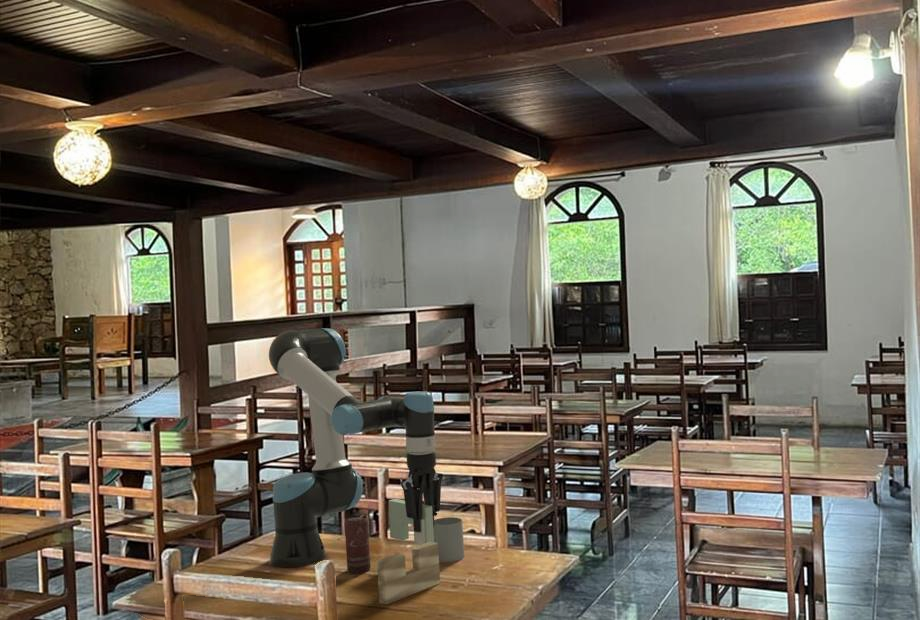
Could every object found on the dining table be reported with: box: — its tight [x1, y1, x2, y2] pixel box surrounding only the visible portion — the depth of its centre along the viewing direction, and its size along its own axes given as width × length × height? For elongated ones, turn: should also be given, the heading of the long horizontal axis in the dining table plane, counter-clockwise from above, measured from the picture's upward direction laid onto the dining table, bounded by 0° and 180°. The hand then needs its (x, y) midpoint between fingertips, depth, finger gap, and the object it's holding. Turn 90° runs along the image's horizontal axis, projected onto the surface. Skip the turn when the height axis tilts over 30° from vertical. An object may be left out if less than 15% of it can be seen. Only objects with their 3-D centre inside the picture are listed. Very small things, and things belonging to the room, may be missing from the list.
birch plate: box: [376, 542, 441, 605], centre depth 204 cm, size 2×18×10 cm, turn 137°
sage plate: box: [388, 498, 434, 546], centre depth 222 cm, size 14×2×10 cm, turn 47°
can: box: [344, 514, 371, 575], centre depth 225 cm, size 6×6×14 cm
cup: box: [433, 516, 465, 563], centre depth 231 cm, size 8×8×10 cm
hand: (424, 542), depth 219 cm, fingers closed on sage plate, 2 cm apart
